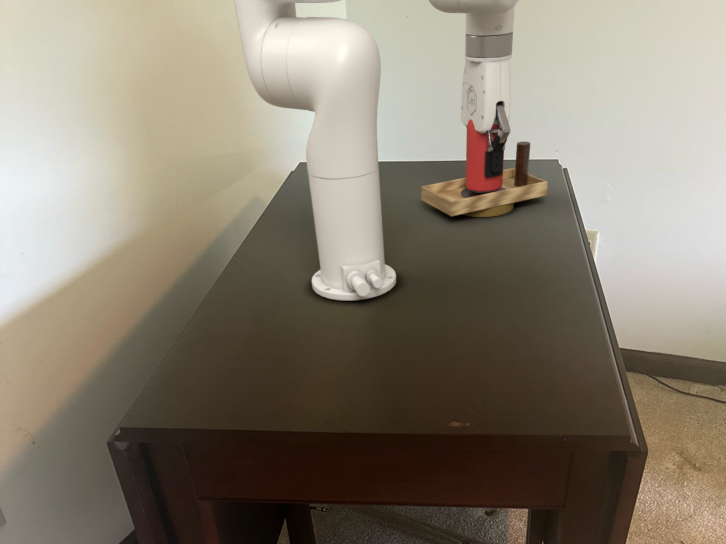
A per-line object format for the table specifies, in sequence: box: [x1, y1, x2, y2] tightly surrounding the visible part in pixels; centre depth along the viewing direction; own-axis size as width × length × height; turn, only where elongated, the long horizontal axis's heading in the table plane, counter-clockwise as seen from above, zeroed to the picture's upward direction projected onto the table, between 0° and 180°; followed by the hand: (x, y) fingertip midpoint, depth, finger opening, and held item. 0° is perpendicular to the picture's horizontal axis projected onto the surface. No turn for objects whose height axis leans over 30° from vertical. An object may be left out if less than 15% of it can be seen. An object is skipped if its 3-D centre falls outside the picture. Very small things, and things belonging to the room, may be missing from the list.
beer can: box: [465, 119, 505, 193], centre depth 117 cm, size 7×7×12 cm
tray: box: [420, 141, 549, 217], centre depth 120 cm, size 20×11×8 cm, turn 117°
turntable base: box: [461, 202, 515, 218], centre depth 123 cm, size 11×11×2 cm
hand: (484, 169), depth 119 cm, fingers closed on beer can, 6 cm apart
